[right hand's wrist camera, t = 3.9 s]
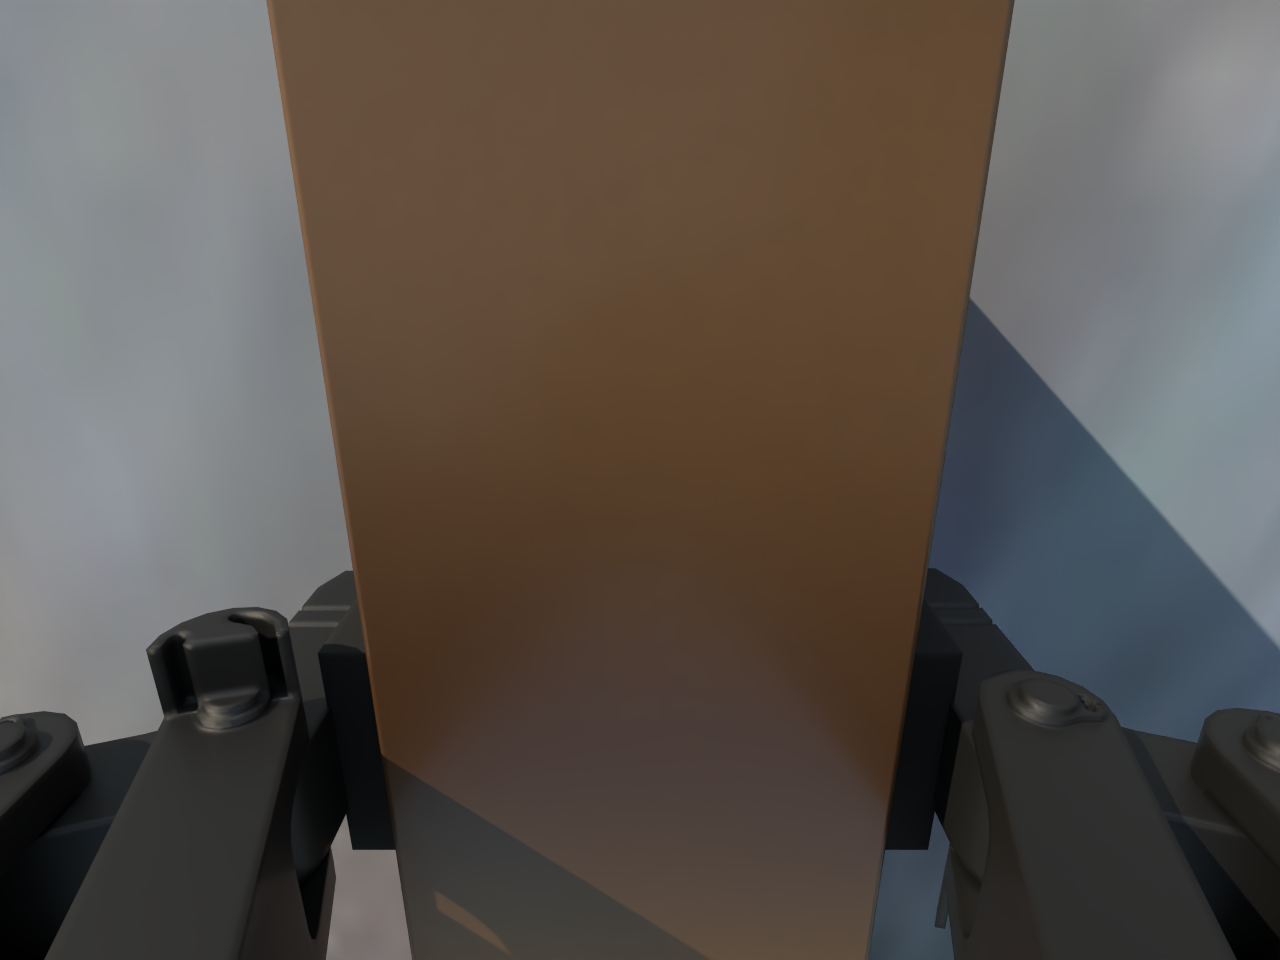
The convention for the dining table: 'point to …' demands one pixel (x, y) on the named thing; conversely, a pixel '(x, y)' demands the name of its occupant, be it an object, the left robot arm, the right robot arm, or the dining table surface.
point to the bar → (640, 441)
